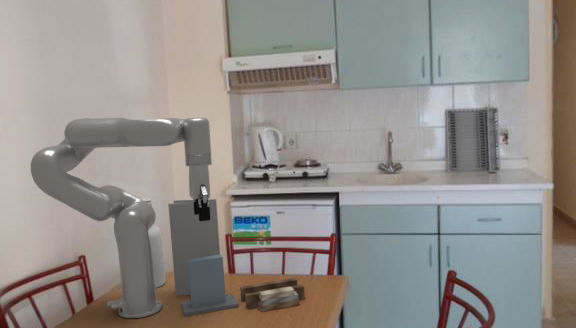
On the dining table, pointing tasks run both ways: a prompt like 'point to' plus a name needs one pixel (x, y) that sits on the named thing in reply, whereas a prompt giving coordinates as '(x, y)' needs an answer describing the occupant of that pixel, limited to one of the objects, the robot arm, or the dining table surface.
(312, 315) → the dining table surface
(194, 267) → the blue grey brick
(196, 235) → the grey tall flat block
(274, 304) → the offcut stack
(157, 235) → the alcohol
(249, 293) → the rack
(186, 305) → the slate mat
